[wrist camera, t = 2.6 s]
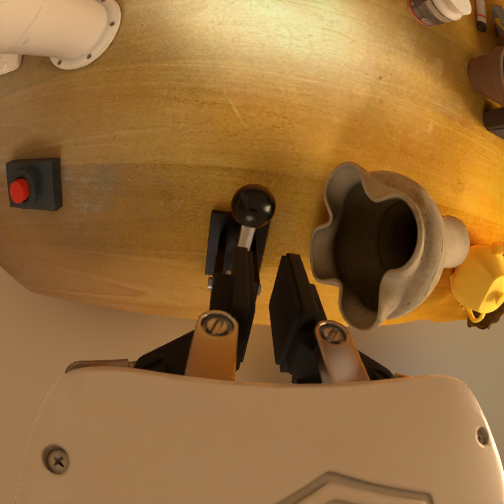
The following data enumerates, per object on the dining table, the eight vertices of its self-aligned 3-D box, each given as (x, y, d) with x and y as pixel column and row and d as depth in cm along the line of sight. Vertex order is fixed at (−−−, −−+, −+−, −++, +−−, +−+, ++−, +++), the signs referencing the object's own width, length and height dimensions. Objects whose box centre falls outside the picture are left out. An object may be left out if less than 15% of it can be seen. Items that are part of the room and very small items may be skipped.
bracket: (212, 209, 37) (200, 251, 27) (269, 217, 38) (279, 262, 27) (205, 270, 42) (195, 323, 31) (256, 276, 43) (261, 331, 32)
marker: (481, 32, 19) (488, 32, 18) (475, 26, 19) (482, 25, 18) (477, -18, 12) (483, -19, 10) (470, -23, 12) (476, -25, 10)
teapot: (432, 297, 47) (462, 339, 36) (468, 210, 37) (513, 242, 26) (468, 296, 48) (496, 331, 37) (501, 220, 38) (539, 249, 27)
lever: (235, 171, 20) (231, 202, 18) (279, 178, 20) (281, 209, 18) (220, 277, 33) (217, 302, 31) (247, 281, 33) (246, 306, 31)
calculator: (-18, 82, 21) (-24, 83, 19) (7, -5, 11) (1, -6, 9) (20, 69, 22) (13, 69, 21) (52, -27, 13) (46, -30, 11)
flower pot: (499, 108, 27) (538, 118, 18) (465, 109, 28) (508, 118, 19) (487, 50, 21) (526, 52, 13) (450, 44, 23) (492, 40, 14)
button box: (17, 202, 34) (4, 211, 30) (13, 159, 30) (-1, 166, 26) (62, 206, 35) (49, 215, 32) (59, 157, 31) (44, 164, 28)
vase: (524, 209, 23) (448, 167, 15) (482, 335, 31) (371, 396, 22) (429, 179, 43) (308, 149, 34) (405, 281, 50) (287, 295, 41)
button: (17, 199, 30) (11, 203, 29) (15, 177, 28) (8, 181, 27) (31, 199, 30) (24, 204, 29) (29, 177, 29) (22, 181, 27)
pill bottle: (418, -7, 19) (454, -22, 10) (440, 20, 21) (479, 12, 12) (400, 3, 21) (437, -14, 12) (423, 31, 23) (464, 22, 14)
